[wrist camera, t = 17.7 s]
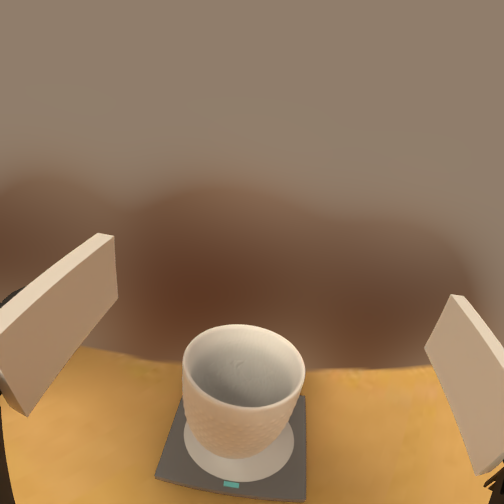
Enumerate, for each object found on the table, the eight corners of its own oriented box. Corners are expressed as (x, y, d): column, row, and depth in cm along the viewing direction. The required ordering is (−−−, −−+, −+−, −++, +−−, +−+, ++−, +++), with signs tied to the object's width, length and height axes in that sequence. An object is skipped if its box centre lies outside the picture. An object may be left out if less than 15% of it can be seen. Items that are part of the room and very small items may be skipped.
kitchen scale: (155, 478, 25) (154, 474, 24) (189, 381, 39) (189, 375, 39) (303, 502, 24) (306, 499, 24) (303, 400, 39) (305, 394, 38)
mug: (246, 374, 41) (260, 297, 36) (311, 414, 35) (344, 341, 30) (164, 432, 30) (155, 355, 24) (237, 492, 24) (255, 434, 19)
